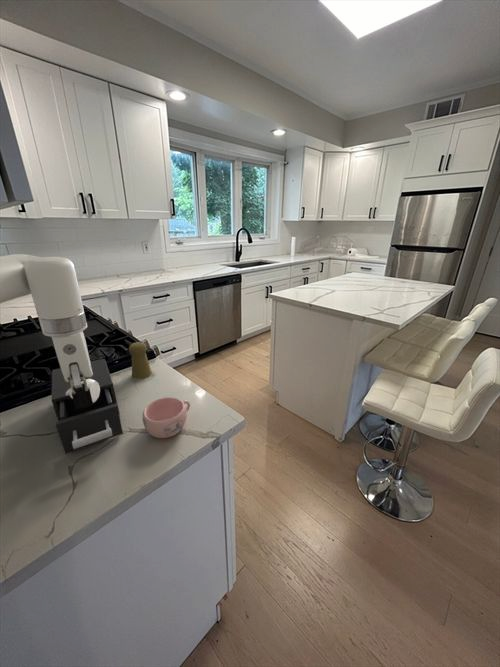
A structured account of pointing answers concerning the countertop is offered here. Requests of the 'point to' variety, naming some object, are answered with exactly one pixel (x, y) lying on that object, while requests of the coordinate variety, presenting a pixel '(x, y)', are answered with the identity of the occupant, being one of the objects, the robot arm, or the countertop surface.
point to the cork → (139, 361)
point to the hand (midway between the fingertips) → (83, 398)
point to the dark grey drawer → (88, 422)
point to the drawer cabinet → (99, 376)
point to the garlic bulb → (93, 388)
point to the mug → (165, 416)
